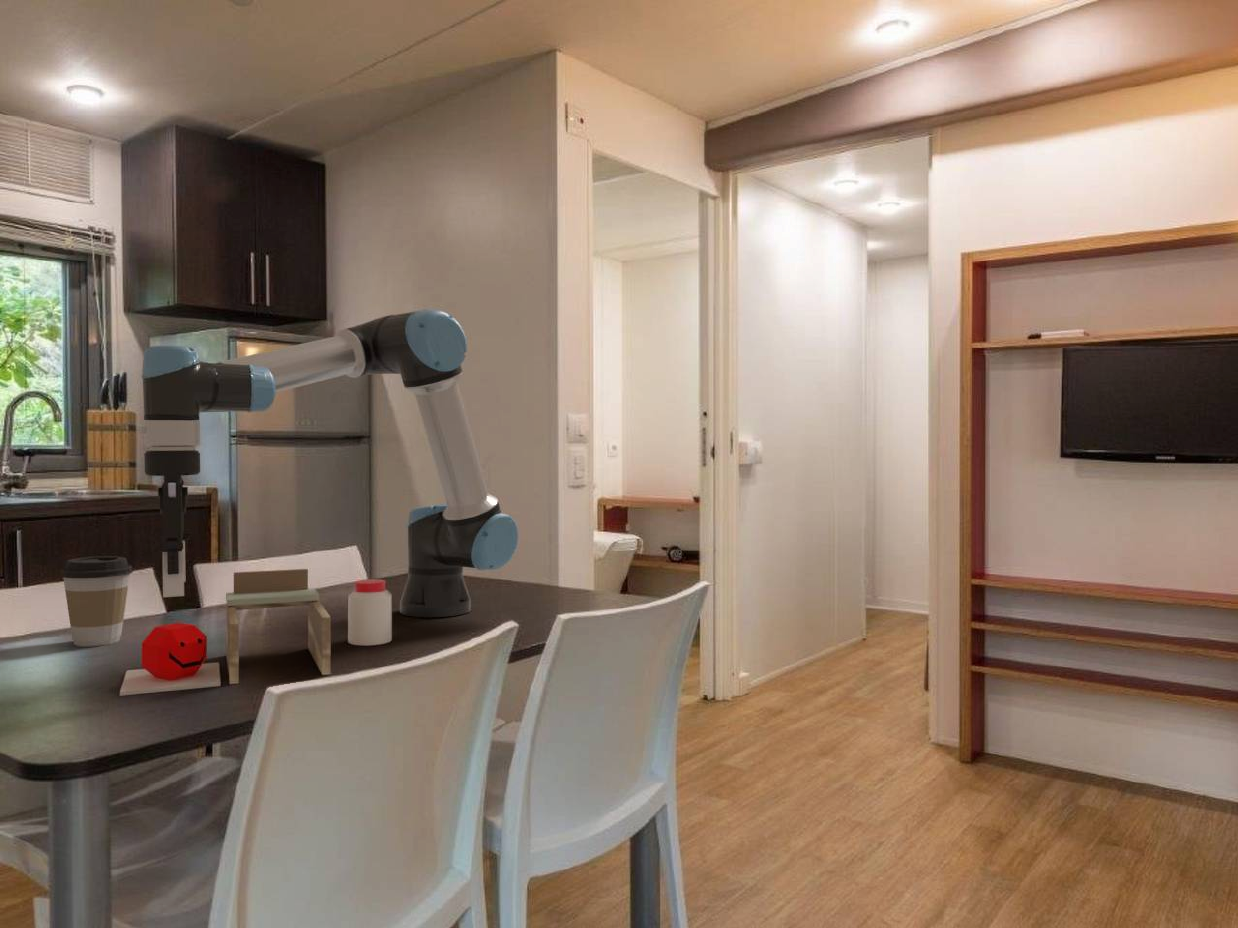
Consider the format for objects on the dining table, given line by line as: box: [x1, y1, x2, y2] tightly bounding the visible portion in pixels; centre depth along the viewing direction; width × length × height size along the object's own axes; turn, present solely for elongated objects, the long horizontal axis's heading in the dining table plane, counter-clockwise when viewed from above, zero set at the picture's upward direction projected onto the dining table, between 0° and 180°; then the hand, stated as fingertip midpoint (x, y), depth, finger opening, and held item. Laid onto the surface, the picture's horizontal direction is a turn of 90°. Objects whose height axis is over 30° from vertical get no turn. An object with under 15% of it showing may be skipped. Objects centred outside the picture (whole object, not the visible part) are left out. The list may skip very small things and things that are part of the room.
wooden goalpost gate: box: [225, 600, 332, 685], centre depth 143 cm, size 14×20×9 cm
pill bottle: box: [347, 578, 393, 647], centre depth 161 cm, size 8×8×11 cm
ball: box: [141, 622, 208, 681], centre depth 133 cm, size 8×8×8 cm
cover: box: [225, 568, 320, 606], centre depth 151 cm, size 14×8×4 cm, turn 116°
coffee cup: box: [59, 555, 134, 648], centre depth 158 cm, size 11×11×15 cm
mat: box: [119, 661, 221, 697], centre depth 133 cm, size 13×13×1 cm
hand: (174, 589), depth 133 cm, fingers open, 13 cm apart
